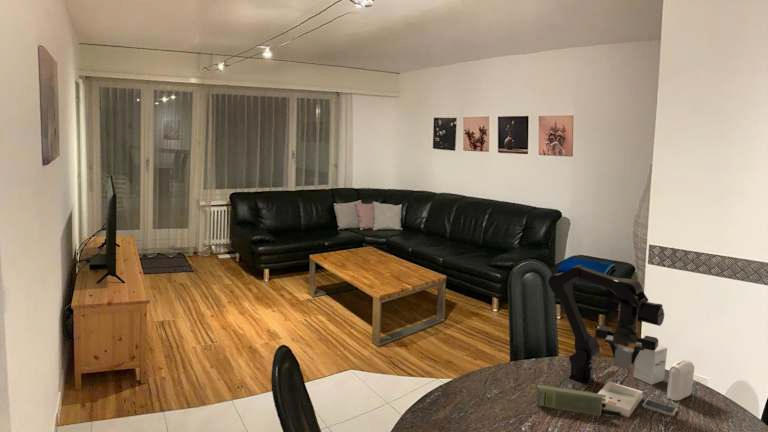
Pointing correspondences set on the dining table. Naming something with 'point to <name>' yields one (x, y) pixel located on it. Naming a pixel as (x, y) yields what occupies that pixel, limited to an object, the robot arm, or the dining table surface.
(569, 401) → the handheld radio
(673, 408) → the phone slab
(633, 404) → the white grey flat device
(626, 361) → the block
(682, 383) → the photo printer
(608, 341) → the robot arm
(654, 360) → the supplement box
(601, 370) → the dining table surface
